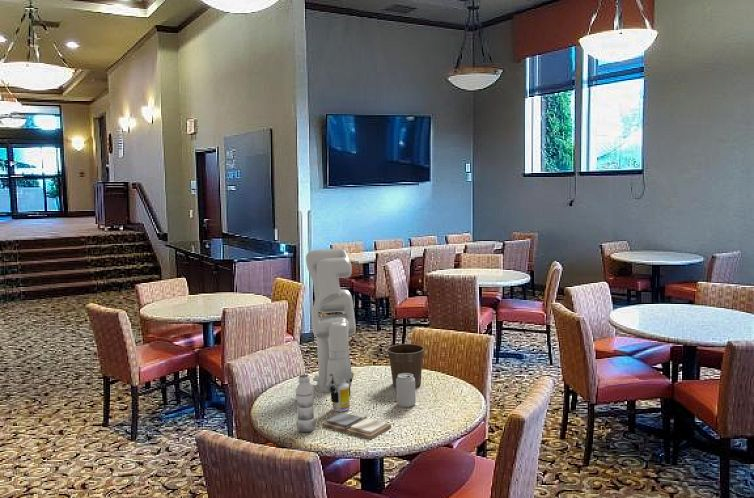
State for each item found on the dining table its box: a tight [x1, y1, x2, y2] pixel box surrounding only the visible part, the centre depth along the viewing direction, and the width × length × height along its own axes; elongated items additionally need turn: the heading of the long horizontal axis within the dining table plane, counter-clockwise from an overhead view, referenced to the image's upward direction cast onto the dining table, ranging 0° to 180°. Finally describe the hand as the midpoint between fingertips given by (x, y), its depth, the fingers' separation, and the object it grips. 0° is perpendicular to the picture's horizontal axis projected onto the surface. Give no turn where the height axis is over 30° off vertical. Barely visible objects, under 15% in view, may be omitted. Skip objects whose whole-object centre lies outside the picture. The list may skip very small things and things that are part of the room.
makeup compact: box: [321, 411, 392, 440], centre depth 222 cm, size 22×12×2 cm, turn 54°
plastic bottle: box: [295, 374, 316, 433], centre depth 219 cm, size 6×7×20 cm
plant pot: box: [386, 343, 425, 389], centre depth 266 cm, size 16×16×16 cm
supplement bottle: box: [332, 379, 351, 413], centre depth 240 cm, size 7×7×13 cm
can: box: [395, 373, 417, 408], centre depth 242 cm, size 8×8×12 cm
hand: (340, 398), depth 240 cm, fingers closed on supplement bottle, 6 cm apart
